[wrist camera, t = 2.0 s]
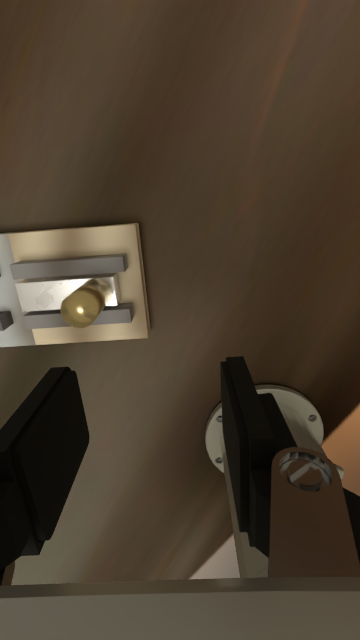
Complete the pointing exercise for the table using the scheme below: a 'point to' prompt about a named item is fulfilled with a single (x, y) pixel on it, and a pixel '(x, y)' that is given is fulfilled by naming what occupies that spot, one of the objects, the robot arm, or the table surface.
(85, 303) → the bolt
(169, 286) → the table surface
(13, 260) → the lock board
